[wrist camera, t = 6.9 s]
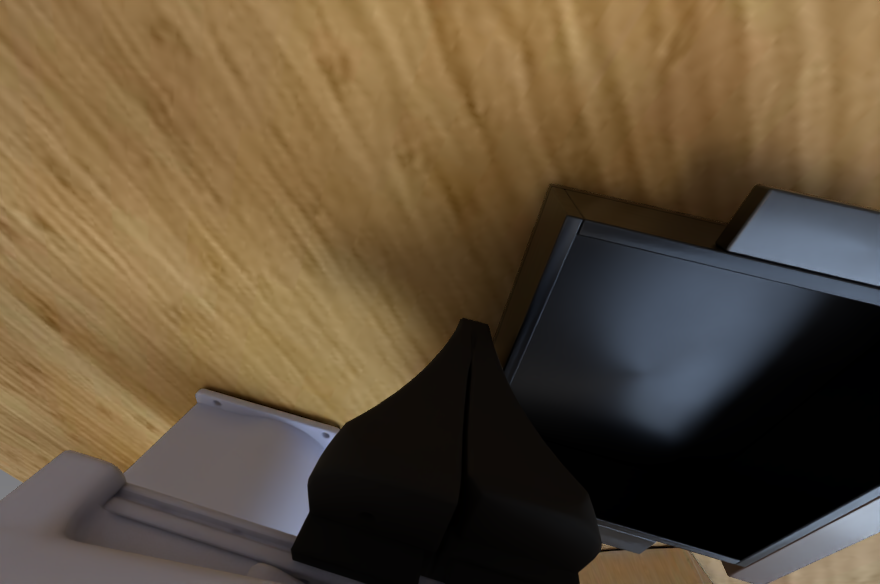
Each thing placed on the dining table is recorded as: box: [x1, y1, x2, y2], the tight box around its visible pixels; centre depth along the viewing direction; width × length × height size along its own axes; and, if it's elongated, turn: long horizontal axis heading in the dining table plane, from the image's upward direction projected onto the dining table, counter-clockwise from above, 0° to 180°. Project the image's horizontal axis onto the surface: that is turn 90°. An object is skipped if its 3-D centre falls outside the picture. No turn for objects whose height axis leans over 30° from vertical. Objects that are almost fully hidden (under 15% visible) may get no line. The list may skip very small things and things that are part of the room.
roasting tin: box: [493, 183, 880, 567], centre depth 11 cm, size 12×15×4 cm
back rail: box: [721, 496, 880, 584], centre depth 11 cm, size 2×16×3 cm, turn 170°
